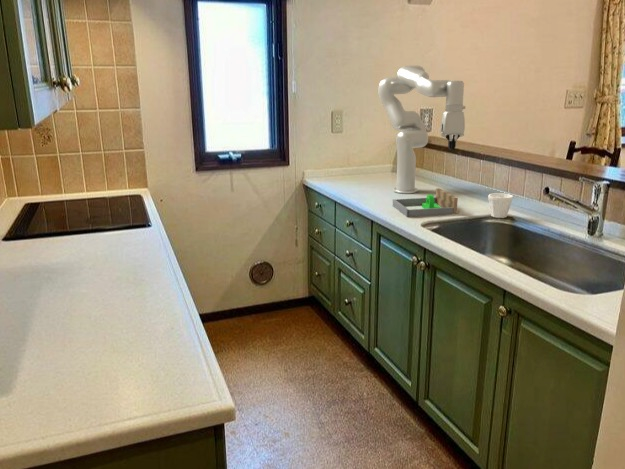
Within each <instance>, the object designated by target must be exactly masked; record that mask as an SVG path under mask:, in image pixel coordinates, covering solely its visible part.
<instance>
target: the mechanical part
mask: <svg viewBox="0 0 625 469" xmlns="http://www.w3.org/2000/svg"><path fill="white" fill-rule="evenodd" d="M434 197H435V196H434V195H433V194H427V195H426V197H425V198H426V203H422V205H421V206H422V209H428V208H442V207H441V206H440V205H438V204H435V203H434Z"/></svg>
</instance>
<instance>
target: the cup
mask: <svg viewBox="0 0 625 469" xmlns="http://www.w3.org/2000/svg"><path fill="white" fill-rule="evenodd" d="M487 198H488V203H489V210H490V216H491V217H492V218H494V219H506V218H507V217H508V214H509V211H510V208H511V206H512V203H513V200H514V195H513V194H510V193H503V192H494V193H489V194H488V196H487Z"/></svg>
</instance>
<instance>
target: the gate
mask: <svg viewBox="0 0 625 469" xmlns="http://www.w3.org/2000/svg"><path fill="white" fill-rule="evenodd" d="M435 197H436V204H437V205H438V206H440V207H441V208H446V207H453V214H452V215H456V214H457V212H458V201H459V200H458V199H459V198H458V197H456V196H455V195H453V194H451V193H449V192H447V191H446V190H444V189H441V188H439V187H438V188H437V187H436V189H435Z"/></svg>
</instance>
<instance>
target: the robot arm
mask: <svg viewBox="0 0 625 469" xmlns="http://www.w3.org/2000/svg"><path fill="white" fill-rule="evenodd" d="M396 75H397V77H396V76H395V77H394V76H393V77H387V78H384V79H382V80H381V81H380V82H379V84H378V89H377V92H378V97H379V100H380V102H381V104H382V105H383V107H384V109H385V112H386V113H387V117H388V119H389V121H390V123H391V126H392V128H393V129H394V130H395V131H399V132H398V133H397V134H396V137H395V145H396V153H397V154H396V187H394V188H393V189H392V190H393V192H395V193H398V194H415V193H417V192H419V189H418V188H416V168H417V164H416V163H417V158H416V153H415V151H414V149H419V148H423V147H426V145H428V142H429V135H428V132H427V130H426V127H425V124H424V122H423V120H422V117H421V115H420V114H419V113H418V112H416V111H414V110H405V109H404V107H403V104H402V102H401V101H400V100H399V99H398V98H397V97H396V96H395V95H406V94H408V93H409V94H410V92H412V91H413V90H414V89H416V91H417V92H418V94H421V95H423V96H426V97H428V98H445V109H444V110H445V111H443V112H442V117H441V122H440V133H441V134H440V137H442V138H445V139H446V140H447V143H448V144H447V148H448V150H450V151H452V150H453V151H454V150H456V145H457V141H458V139H459V138H462V137H464V136H465V128H466V125H465V124H466V123H465V122H466V121H465V120H466V119H465V112H464V110H465V109H466V106H465V105H464V90H465V89H464V88H465V83H464V81H463V80H450V79H445V80H444V79H433V80H432V79H430V76H429V74H428V72H426V70H425V68H424V67H423V66H420V65H404V66H402V67H399V69H398V71H397V74H396Z"/></svg>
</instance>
